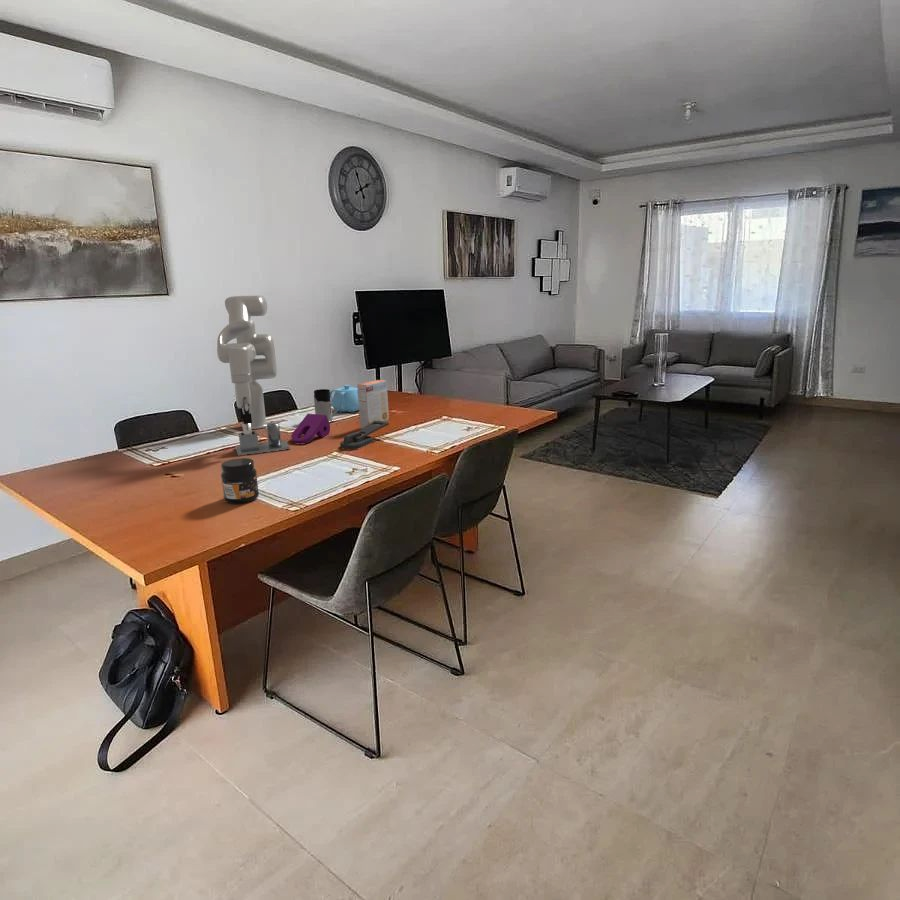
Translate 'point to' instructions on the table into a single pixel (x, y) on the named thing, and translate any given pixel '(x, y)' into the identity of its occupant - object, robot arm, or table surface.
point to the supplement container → (239, 480)
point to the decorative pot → (345, 399)
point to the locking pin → (247, 429)
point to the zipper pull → (362, 436)
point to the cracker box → (373, 402)
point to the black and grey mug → (324, 403)
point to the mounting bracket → (311, 428)
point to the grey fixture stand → (252, 446)
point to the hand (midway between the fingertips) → (246, 420)
